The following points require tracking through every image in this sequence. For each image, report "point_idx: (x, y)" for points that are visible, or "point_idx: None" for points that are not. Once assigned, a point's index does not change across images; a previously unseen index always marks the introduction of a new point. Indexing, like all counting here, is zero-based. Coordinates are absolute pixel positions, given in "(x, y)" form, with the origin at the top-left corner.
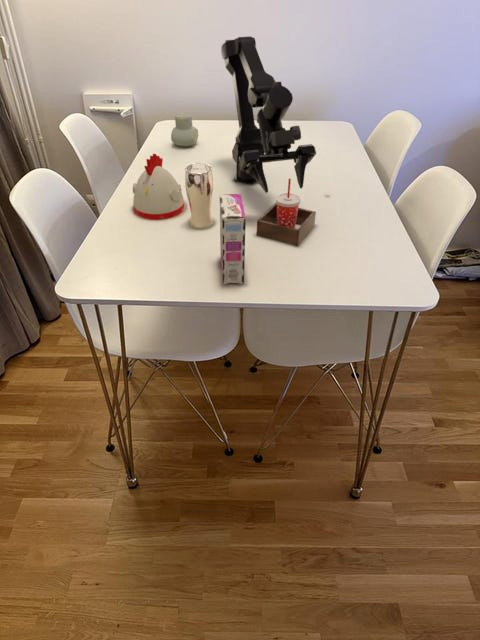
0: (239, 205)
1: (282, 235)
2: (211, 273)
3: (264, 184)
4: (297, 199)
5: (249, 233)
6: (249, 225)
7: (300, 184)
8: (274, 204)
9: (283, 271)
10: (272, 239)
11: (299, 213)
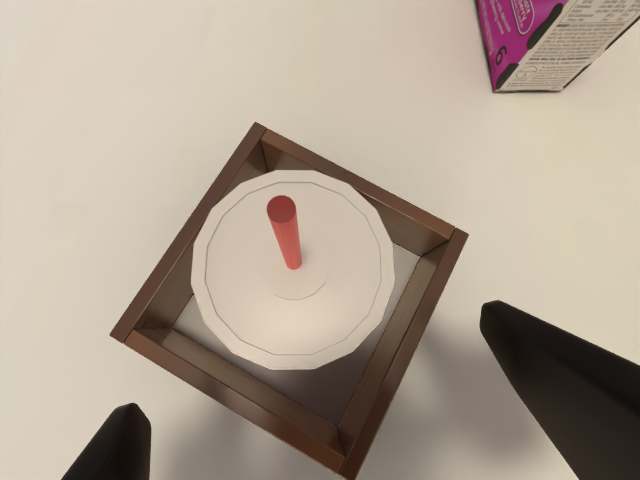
0: None
1: None
2: None
3: (562, 334)
4: (219, 252)
5: (468, 272)
6: (473, 349)
7: (130, 439)
8: (363, 448)
9: (339, 16)
10: None
11: (211, 367)
